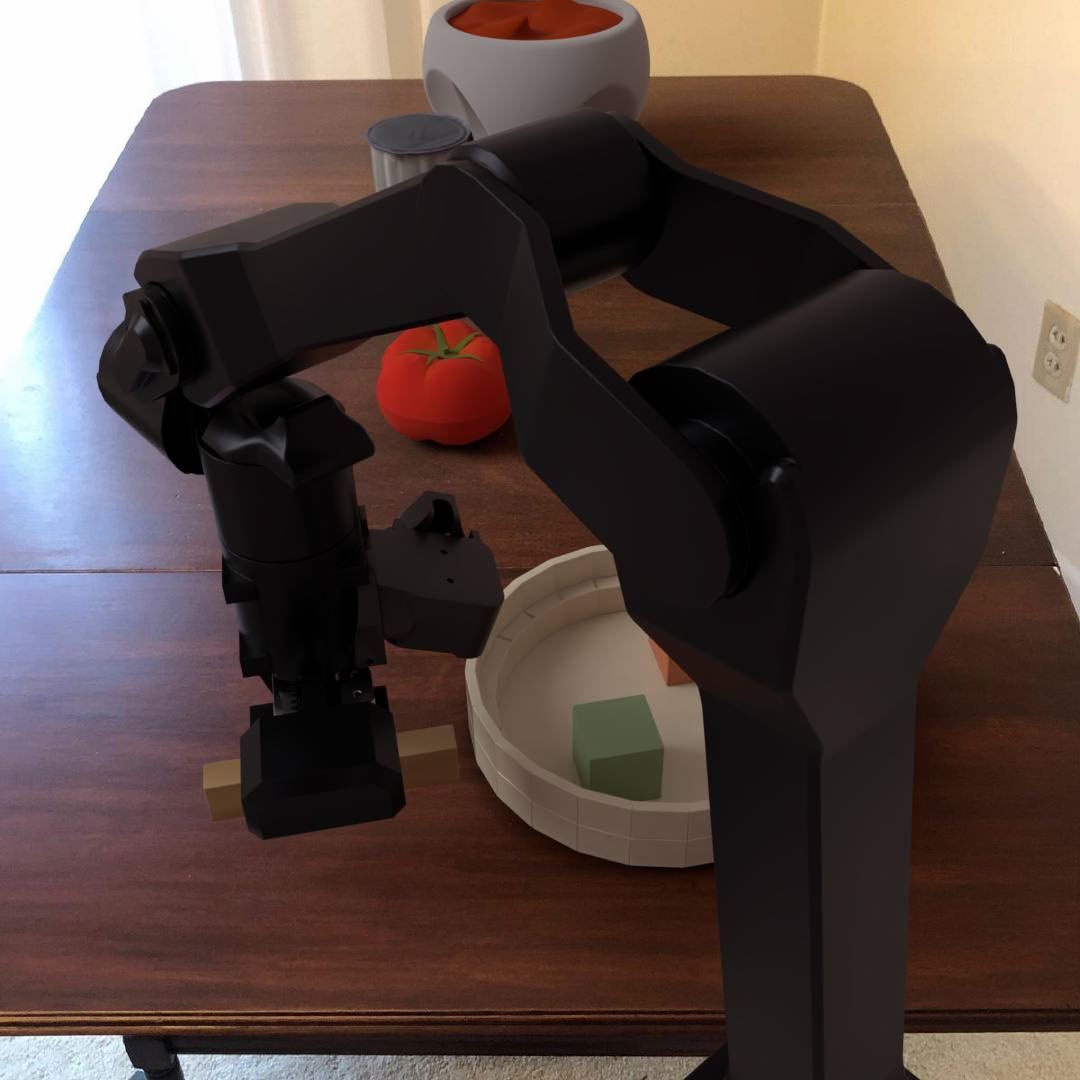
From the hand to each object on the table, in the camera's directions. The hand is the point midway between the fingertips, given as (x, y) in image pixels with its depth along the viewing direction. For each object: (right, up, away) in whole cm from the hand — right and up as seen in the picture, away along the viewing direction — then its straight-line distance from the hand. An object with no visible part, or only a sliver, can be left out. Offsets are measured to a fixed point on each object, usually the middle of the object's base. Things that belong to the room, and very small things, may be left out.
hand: (334, 774), depth 59 cm
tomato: (+3, +20, +37) cm, 42 cm away
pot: (+10, +52, +77) cm, 93 cm away
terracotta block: (+19, +4, +14) cm, 24 cm away
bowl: (+17, +1, +11) cm, 20 cm away
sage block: (+14, -2, +7) cm, 16 cm away
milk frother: (-3, +36, +57) cm, 68 cm away
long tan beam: (0, -1, +1) cm, 1 cm away
